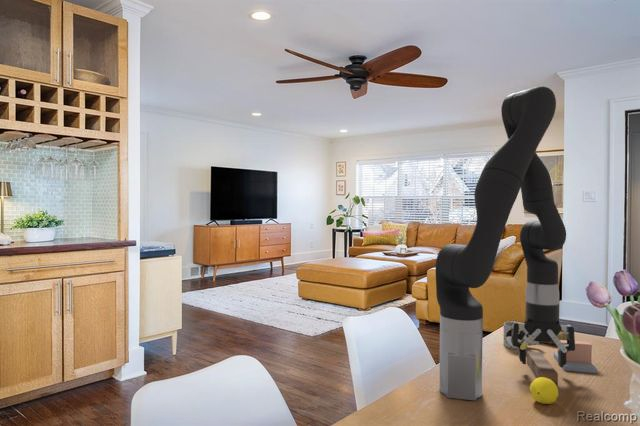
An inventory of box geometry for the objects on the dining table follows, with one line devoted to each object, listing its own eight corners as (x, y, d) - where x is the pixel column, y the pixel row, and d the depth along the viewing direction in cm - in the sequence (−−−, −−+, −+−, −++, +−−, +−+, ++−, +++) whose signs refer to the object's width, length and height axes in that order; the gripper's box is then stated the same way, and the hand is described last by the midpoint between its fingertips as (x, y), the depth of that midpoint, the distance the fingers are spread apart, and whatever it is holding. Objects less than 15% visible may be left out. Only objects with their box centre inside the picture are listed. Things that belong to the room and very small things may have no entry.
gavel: (554, 320, 156) (586, 326, 148) (553, 333, 155) (585, 340, 148) (528, 326, 142) (561, 333, 134) (527, 341, 141) (561, 349, 134)
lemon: (535, 397, 100) (537, 372, 101) (562, 404, 96) (563, 379, 97) (523, 402, 95) (525, 376, 96) (551, 410, 91) (552, 383, 92)
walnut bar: (557, 388, 104) (557, 373, 104) (541, 387, 105) (541, 372, 105) (540, 365, 120) (540, 352, 120) (526, 364, 121) (526, 351, 121)
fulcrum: (596, 373, 113) (597, 349, 113) (564, 370, 115) (564, 347, 115) (583, 359, 124) (583, 337, 124) (553, 356, 126) (554, 335, 126)
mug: (504, 348, 133) (505, 326, 133) (502, 342, 140) (502, 321, 140) (541, 351, 131) (541, 329, 130) (537, 345, 137) (537, 323, 137)
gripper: (514, 302, 111) (514, 367, 111) (578, 305, 107) (578, 372, 107) (509, 296, 118) (509, 357, 118) (569, 299, 114) (569, 362, 115)
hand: (542, 364), depth 113 cm, fingers open, 8 cm apart
